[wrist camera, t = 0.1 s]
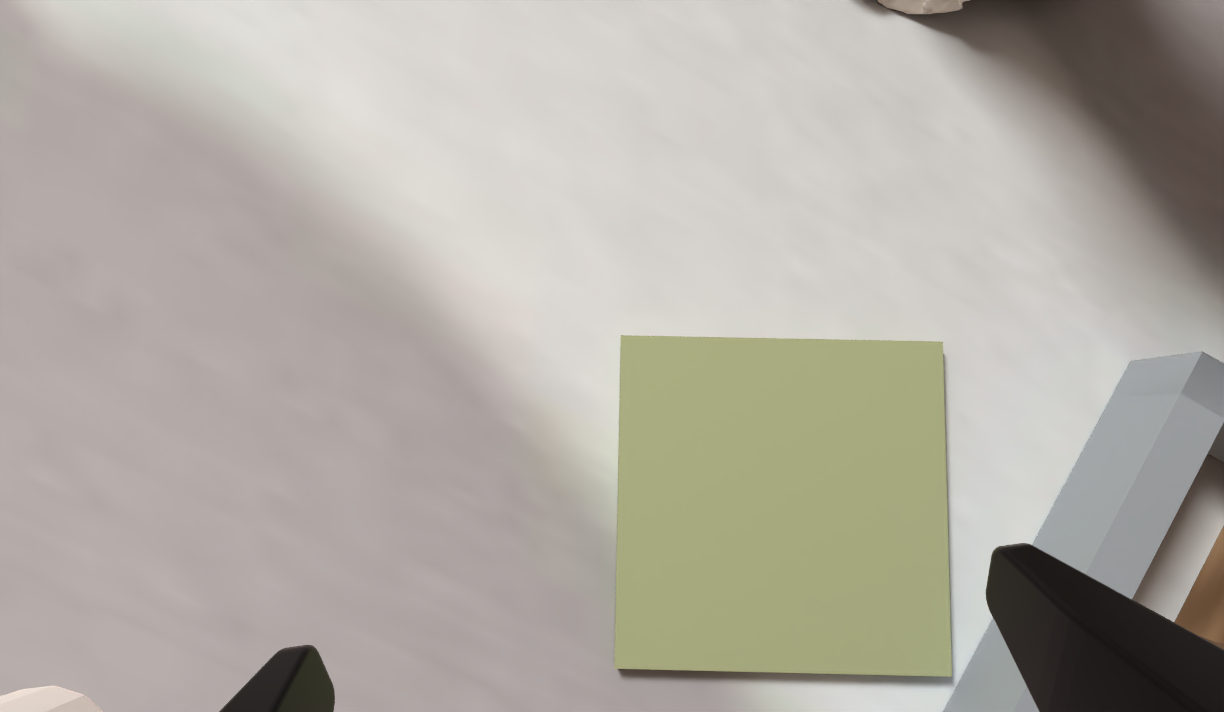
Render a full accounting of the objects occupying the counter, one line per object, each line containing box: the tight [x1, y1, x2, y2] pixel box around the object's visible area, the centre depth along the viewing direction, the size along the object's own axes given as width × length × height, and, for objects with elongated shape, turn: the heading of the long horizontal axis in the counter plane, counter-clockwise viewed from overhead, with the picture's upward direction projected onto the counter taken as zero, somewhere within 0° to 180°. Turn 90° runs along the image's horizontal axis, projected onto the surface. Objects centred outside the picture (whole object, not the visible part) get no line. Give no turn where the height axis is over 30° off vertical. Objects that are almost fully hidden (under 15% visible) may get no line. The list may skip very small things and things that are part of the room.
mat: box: [615, 335, 952, 677], centre depth 24 cm, size 11×11×1 cm
